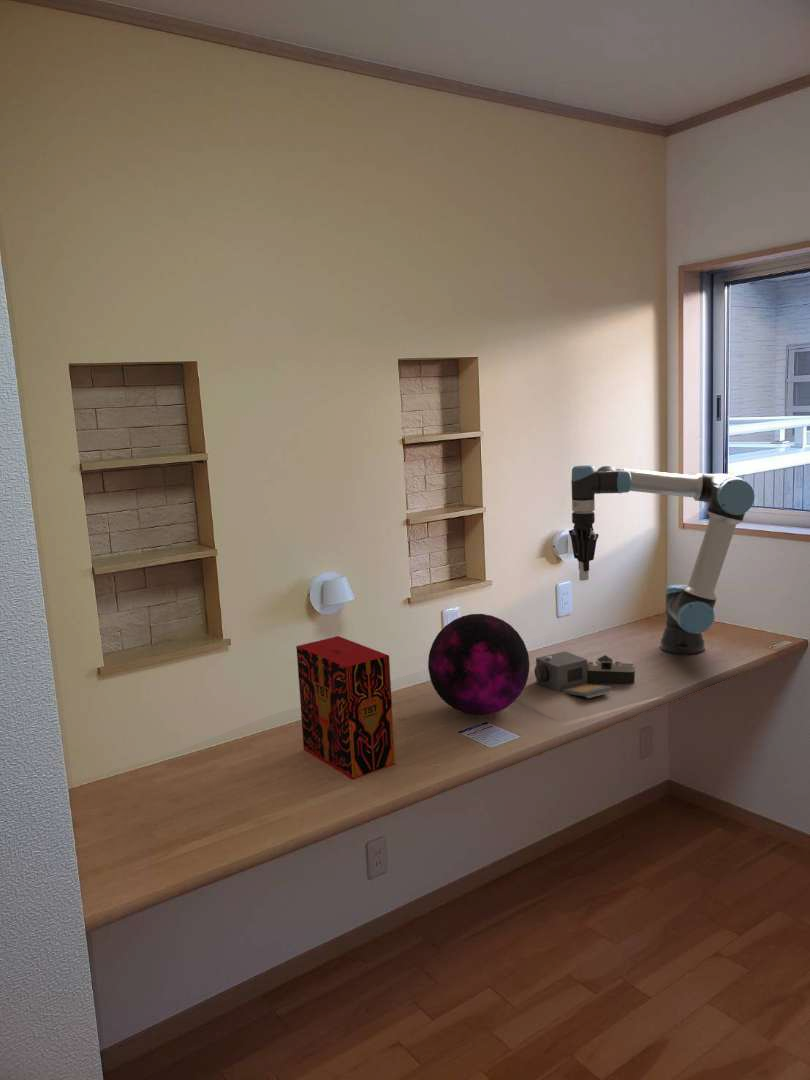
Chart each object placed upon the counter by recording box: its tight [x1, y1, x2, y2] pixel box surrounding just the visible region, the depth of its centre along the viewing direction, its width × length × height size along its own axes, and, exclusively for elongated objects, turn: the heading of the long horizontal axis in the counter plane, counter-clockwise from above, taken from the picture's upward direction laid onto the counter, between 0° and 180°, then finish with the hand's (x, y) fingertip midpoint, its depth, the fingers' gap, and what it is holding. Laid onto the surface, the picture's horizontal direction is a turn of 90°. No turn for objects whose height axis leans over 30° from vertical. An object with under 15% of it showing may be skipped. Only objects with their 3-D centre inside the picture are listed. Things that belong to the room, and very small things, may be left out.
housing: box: [534, 651, 588, 692], centre depth 284 cm, size 14×11×10 cm
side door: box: [560, 683, 613, 699], centre depth 275 cm, size 10×2×13 cm
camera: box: [587, 654, 636, 685], centre depth 285 cm, size 16×9×10 cm, turn 83°
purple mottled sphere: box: [427, 613, 530, 716], centre depth 264 cm, size 30×30×30 cm
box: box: [295, 635, 396, 780], centre depth 236 cm, size 25×13×30 cm, turn 36°
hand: (583, 579), depth 302 cm, fingers closed
